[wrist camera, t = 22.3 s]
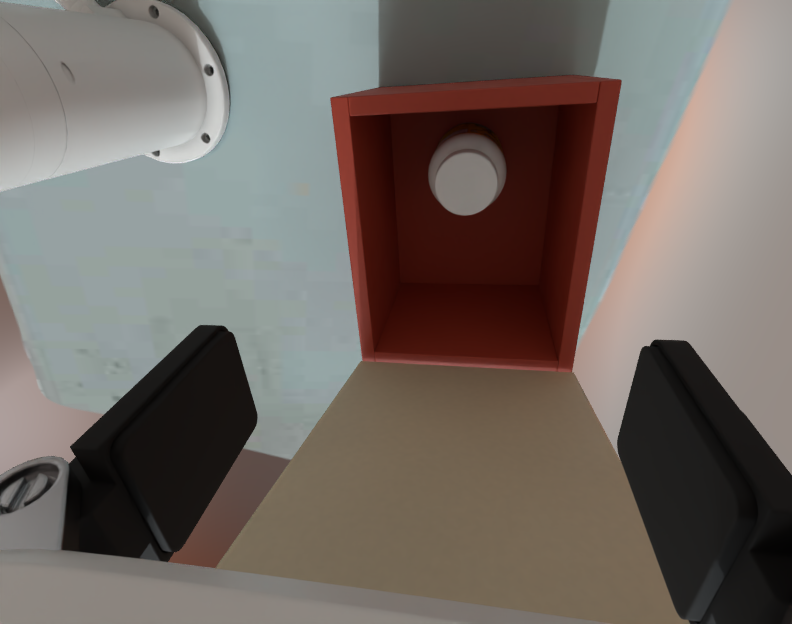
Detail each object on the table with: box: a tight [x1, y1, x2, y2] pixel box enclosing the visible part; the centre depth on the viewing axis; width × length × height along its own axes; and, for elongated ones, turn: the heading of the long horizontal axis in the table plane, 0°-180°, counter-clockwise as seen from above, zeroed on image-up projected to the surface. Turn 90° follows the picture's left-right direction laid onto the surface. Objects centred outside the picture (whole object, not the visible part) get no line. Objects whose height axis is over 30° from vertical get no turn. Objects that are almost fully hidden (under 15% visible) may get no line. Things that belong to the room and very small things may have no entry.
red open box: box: [331, 75, 622, 372], centre depth 32 cm, size 18×15×13 cm
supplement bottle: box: [428, 122, 506, 216], centre depth 31 cm, size 5×5×10 cm
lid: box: [216, 361, 690, 624], centre depth 22 cm, size 19×15×5 cm
